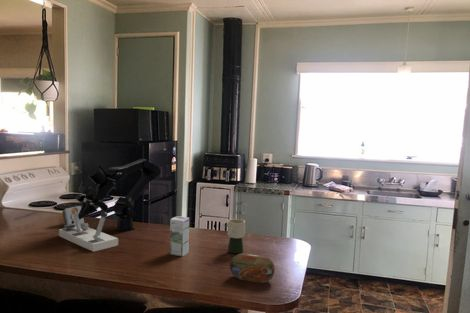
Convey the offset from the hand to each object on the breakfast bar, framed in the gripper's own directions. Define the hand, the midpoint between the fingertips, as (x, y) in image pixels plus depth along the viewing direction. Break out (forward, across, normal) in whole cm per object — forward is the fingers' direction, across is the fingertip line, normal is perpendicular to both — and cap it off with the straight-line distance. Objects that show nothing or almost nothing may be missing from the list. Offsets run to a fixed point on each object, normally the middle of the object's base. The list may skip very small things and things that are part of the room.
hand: (78, 218), depth 151 cm
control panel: (+5, +2, +9) cm, 11 cm away
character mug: (-19, +58, +33) cm, 69 cm away
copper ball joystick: (+3, 0, +4) cm, 5 cm away
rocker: (+3, -10, +4) cm, 11 cm away
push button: (+1, -5, +8) cm, 10 cm away
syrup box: (-7, +43, +21) cm, 48 cm away
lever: (+4, +14, +4) cm, 15 cm away
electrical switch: (0, -27, +15) cm, 31 cm away
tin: (-6, +79, +21) cm, 82 cm away
